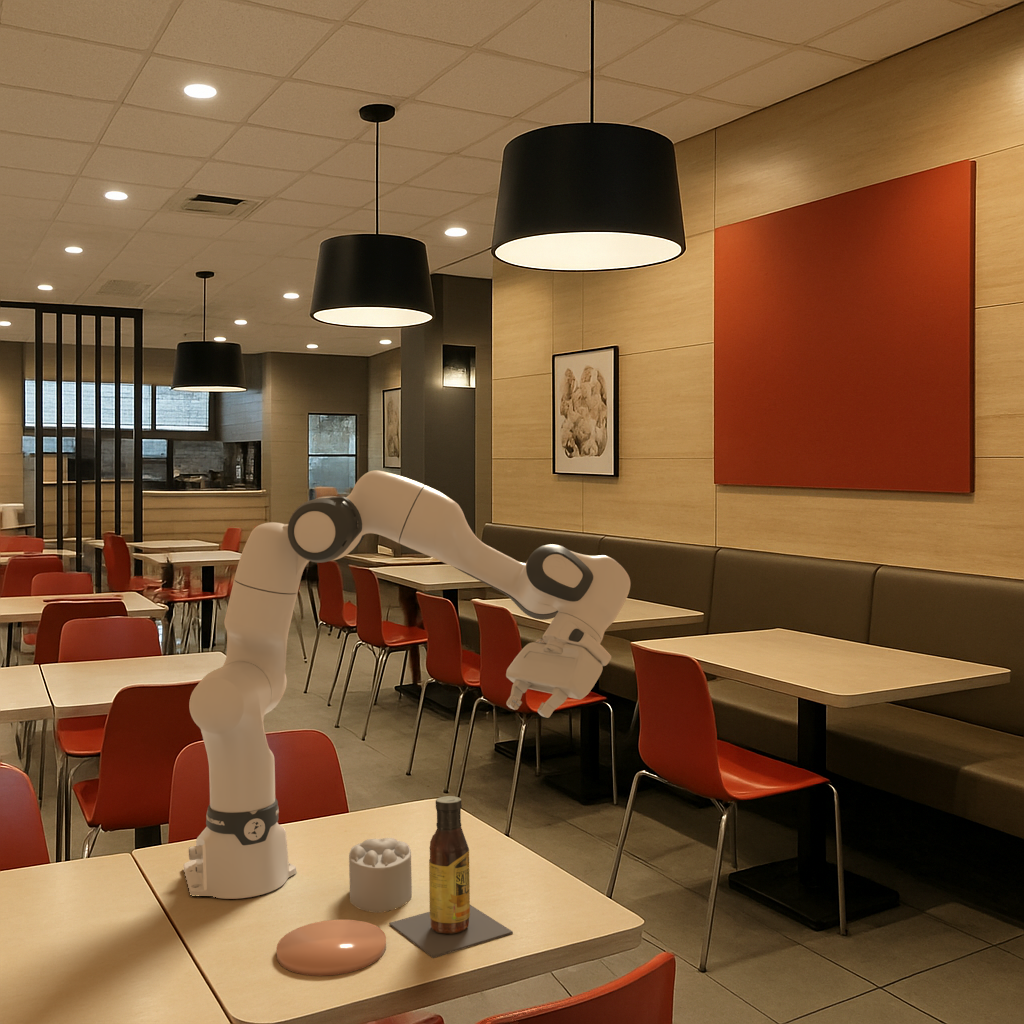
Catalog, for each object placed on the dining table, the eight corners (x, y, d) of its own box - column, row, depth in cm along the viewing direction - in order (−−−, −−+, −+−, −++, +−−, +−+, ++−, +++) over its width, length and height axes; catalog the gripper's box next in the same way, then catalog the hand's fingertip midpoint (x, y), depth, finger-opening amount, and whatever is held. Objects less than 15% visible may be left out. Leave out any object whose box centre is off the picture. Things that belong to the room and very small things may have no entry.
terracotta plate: (261, 944, 151) (260, 936, 151) (358, 918, 160) (358, 911, 160) (301, 986, 138) (301, 978, 138) (405, 955, 147) (404, 947, 147)
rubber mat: (389, 924, 158) (389, 922, 158) (465, 903, 165) (465, 901, 165) (433, 957, 146) (432, 955, 146) (512, 933, 154) (512, 931, 154)
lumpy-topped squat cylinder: (410, 880, 176) (409, 830, 176) (413, 910, 163) (412, 857, 163) (350, 884, 175) (349, 834, 175) (348, 914, 162) (347, 861, 162)
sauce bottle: (464, 937, 152) (462, 807, 152) (424, 934, 153) (422, 805, 153) (474, 919, 158) (472, 794, 158) (436, 917, 160) (434, 792, 159)
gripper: (523, 627, 176) (481, 692, 171) (593, 635, 159) (548, 708, 154) (547, 648, 179) (505, 713, 174) (618, 658, 161) (574, 731, 156)
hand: (526, 711), depth 164 cm, fingers open, 8 cm apart
